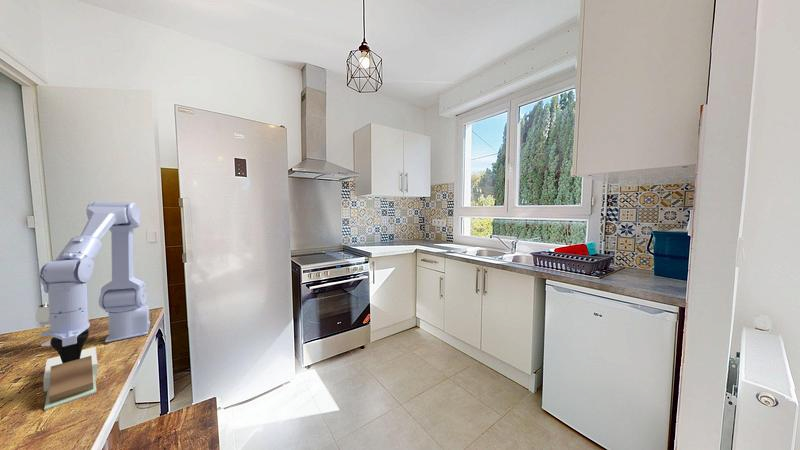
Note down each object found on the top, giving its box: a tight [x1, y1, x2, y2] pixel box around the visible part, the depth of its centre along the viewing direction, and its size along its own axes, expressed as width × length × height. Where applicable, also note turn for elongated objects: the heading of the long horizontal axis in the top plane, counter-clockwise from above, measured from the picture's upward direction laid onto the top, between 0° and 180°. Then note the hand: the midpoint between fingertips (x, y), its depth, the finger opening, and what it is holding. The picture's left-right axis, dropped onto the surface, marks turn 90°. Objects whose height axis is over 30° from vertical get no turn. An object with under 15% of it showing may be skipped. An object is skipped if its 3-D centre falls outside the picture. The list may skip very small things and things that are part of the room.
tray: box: [42, 346, 99, 392], centre depth 65 cm, size 12×8×3 cm, turn 51°
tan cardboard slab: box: [49, 356, 93, 403], centre depth 60 cm, size 9×6×2 cm, turn 51°
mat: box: [43, 375, 97, 411], centre depth 59 cm, size 9×7×1 cm
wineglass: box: [35, 302, 53, 347], centre depth 79 cm, size 6×6×12 cm
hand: (71, 364), depth 62 cm, fingers closed
